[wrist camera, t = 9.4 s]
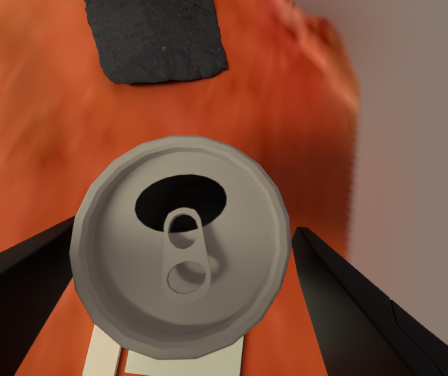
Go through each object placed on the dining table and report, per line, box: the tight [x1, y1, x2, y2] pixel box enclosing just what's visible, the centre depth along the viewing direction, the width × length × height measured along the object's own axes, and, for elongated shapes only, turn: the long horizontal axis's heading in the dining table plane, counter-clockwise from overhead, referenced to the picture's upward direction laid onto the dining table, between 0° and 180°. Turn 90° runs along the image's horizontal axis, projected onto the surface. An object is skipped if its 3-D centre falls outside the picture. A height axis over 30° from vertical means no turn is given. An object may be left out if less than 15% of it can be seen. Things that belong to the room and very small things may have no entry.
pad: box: [125, 336, 244, 376], centre depth 16 cm, size 16×9×1 cm, turn 172°
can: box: [69, 135, 291, 360], centre depth 11 cm, size 8×8×12 cm
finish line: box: [82, 325, 122, 376], centre depth 16 cm, size 22×2×1 cm, turn 172°
